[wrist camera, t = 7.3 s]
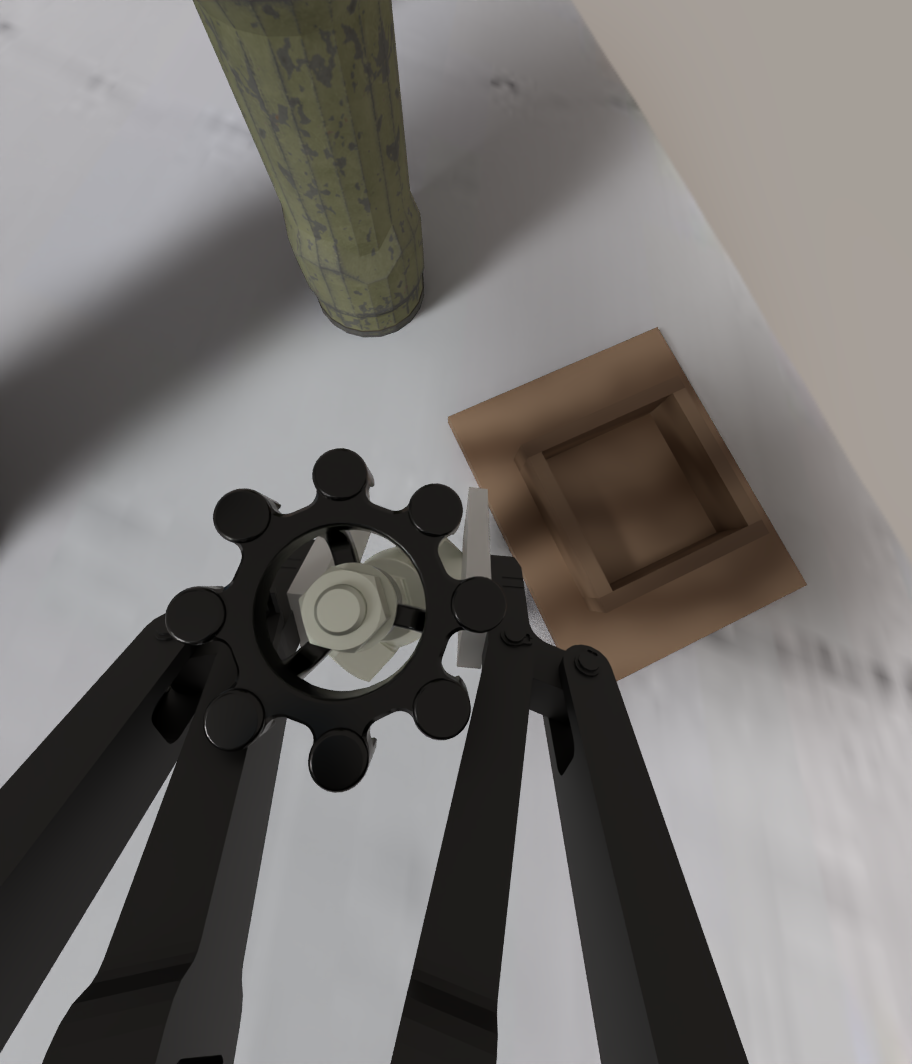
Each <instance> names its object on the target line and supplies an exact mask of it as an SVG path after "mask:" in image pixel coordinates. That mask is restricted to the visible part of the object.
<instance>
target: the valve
mask: <svg viewBox="0 0 912 1064" xmlns="http://www.w3.org/2000/svg"><path fill="white" fill-rule="evenodd" d="M312 478H313V483H314V485H315V488H316V489H317V494H316V497H315V499H314V501H313V502H312V503H311V504H310V505H309V506H307V507H304V508H302V509H300V510H297V511H295V512H293V513H290V514H281V513H280V512H279V510H278V509H279V508H280V507H281V505H280V504H279V503H278V502H276V501H274V500H272V499H270V498H268V497H267V496H265V495H263V494H261V493H259V492H257V491H255V490H251V489H236V490H233V491H231V492H229V493H227V494H225V495H224V496H223V497H222V498H221V499H220V500H219V501H218V503H217V505H216V507H215V509H214V513H213V521H214V526H215V528H216V530H217V532H218V533H219V534H220V535H221V536H222V537H223V538H224V539H226V540H228V541H230V542H233V543H235V544H236V545H237V546H238V547H239V548H240V550H241V553H242V559H241V563H240V565H239V567H238V569H237V571H236V574H235V576H234V578H233V580H232V581H231V583H230V584H229V585H227V586H226V587H223V586H197V587H191V588H187V589H185V590H183V591H181V592H180V593H178V594H177V595H176V596H175V597H174V598H173V599H172V600H171V602H170V603H169V605H168V607H167V610H166V614H165V623H166V627H167V630H168V632H169V634H170V635H171V636H172V638H174V639H175V640H176V641H178V642H180V643H182V644H185V645H190V646H196V645H202V644H206V643H210V642H214V641H220V642H223V643H224V644H226V645H227V646H228V647H229V649H230V651H231V654H232V656H233V659H234V662H235V664H236V667H237V678H236V680H235V682H234V684H233V685H232V686H231V687H230V688H229V689H227V690H225V691H223V692H222V693H220V694H218V695H217V696H216V697H215V698H214V699H213V700H212V701H211V702H210V703H209V705H208V707H207V708H206V711H205V713H204V718H203V729H204V733H205V736H206V738H207V740H208V741H209V742H210V743H211V744H212V745H213V746H214V747H215V748H217V749H219V750H222V751H227V752H235V751H239V750H243V749H245V748H247V747H248V746H250V745H251V744H253V743H254V742H255V741H256V740H257V739H259V738H260V737H261V736H262V735H263V734H265V733H266V732H267V731H268V730H269V729H271V728H272V727H273V726H274V725H275V721H274V719H275V718H278V717H286V718H289V719H291V720H294V721H296V722H299V723H302V724H304V725H306V726H307V727H308V728H309V729H310V730H311V732H312V734H313V739H314V741H313V746H312V748H311V750H310V753H309V759H308V766H309V772H310V774H311V777H312V778H313V780H314V782H315V783H316V784H317V785H318V786H319V787H321V788H322V789H324V790H326V791H329V792H334V793H337V792H344V791H347V790H350V789H351V788H353V787H355V786H356V785H357V784H358V783H359V782H360V781H361V780H362V779H363V777H364V776H365V774H366V772H367V769H368V767H369V764H370V762H371V759H372V757H373V754H374V752H375V748H376V742H377V739H376V738H371V736H370V726H371V725H372V724H373V723H374V722H375V721H377V720H379V719H381V718H383V717H385V716H387V715H389V714H391V713H393V712H396V711H404V712H407V713H409V714H410V715H411V716H412V717H413V719H414V722H415V724H416V726H417V727H418V729H419V730H420V731H421V732H422V733H423V734H424V735H425V736H427V737H429V738H431V739H435V740H447V739H450V738H453V737H455V736H456V735H458V734H459V733H460V732H461V731H462V730H463V729H464V728H465V726H466V725H467V723H468V721H469V717H470V712H471V705H470V700H469V696H468V692H467V688H466V685H465V683H464V681H463V680H462V679H461V678H460V676H456V677H454V676H452V675H450V674H448V673H447V672H446V671H445V670H444V668H443V666H442V657H443V654H444V651H445V649H446V646H447V643H448V641H449V639H450V637H451V636H452V635H453V634H454V633H456V632H458V631H461V630H466V631H469V632H473V633H485V632H489V631H491V630H493V629H494V628H496V627H497V626H498V625H499V624H500V623H501V621H502V620H503V618H504V616H505V613H506V608H507V602H506V597H505V594H504V592H503V590H502V588H501V587H500V586H499V585H498V584H497V583H496V582H495V581H493V580H491V579H489V578H487V577H483V576H474V577H470V578H467V579H464V580H461V570H462V554H463V553H462V552H461V551H460V550H459V549H458V548H457V547H456V546H455V545H454V544H453V543H452V542H451V541H450V540H448V539H447V538H446V537H448V536H450V535H451V534H453V535H454V533H455V532H456V531H457V529H458V527H459V525H460V522H461V518H462V513H463V507H462V502H461V500H460V498H459V496H458V495H457V493H456V492H455V491H454V490H452V489H451V488H450V487H448V486H446V485H443V484H428V485H425V486H423V487H421V488H419V489H418V490H417V491H416V492H415V493H414V494H413V496H412V497H411V499H410V502H409V504H408V506H407V507H405V508H404V509H402V510H399V511H392V510H389V509H386V508H383V507H380V506H378V505H375V504H373V503H372V502H370V500H369V496H368V492H369V488H370V487H373V486H374V478H373V475H372V474H371V472H370V470H369V468H368V467H367V465H366V464H365V462H364V460H363V459H362V458H361V457H360V456H359V455H358V454H357V453H355V452H354V451H351V450H349V449H344V448H337V449H332V450H329V451H327V452H325V453H324V454H323V455H321V456H320V457H319V459H318V460H317V461H316V463H315V465H314V468H313V472H312ZM349 530H361V531H366V532H371V533H374V534H377V535H379V536H382V537H384V538H386V539H388V540H389V541H391V542H392V543H393V544H395V545H396V547H394V548H389V549H386V550H383V551H381V552H379V553H377V554H375V555H373V556H372V557H370V558H369V559H368V560H366V561H365V562H364V563H363V564H362V563H360V559H359V556H358V552H357V549H356V546H355V543H354V540H353V538H352V535H351V533H350V531H349ZM318 536H319V537H322V538H324V539H325V541H326V542H327V544H328V546H329V549H330V551H331V554H332V557H333V561H334V565H335V567H332V566H331V567H330V568H329V569H328V570H326V571H325V572H324V573H323V574H322V575H321V576H320V577H319V578H318V579H317V580H316V581H315V582H314V583H313V584H312V585H311V586H310V587H309V588H308V589H307V590H306V591H305V593H304V594H303V595H302V596H301V597H300V598H299V605H300V610H301V615H302V620H303V623H304V627H305V631H306V634H307V637H308V640H309V641H308V642H306V643H305V644H304V645H303V646H302V647H301V648H300V649H299V650H298V651H296V652H295V653H294V654H293V655H291V656H290V657H288V658H286V659H284V660H281V658H280V657H279V655H278V653H277V652H276V650H275V648H274V647H273V644H272V642H271V639H270V636H269V632H268V627H267V619H266V609H267V603H268V597H269V592H270V589H271V586H272V584H273V581H274V579H275V577H276V574H277V572H278V571H279V569H280V568H281V566H282V565H283V563H284V562H285V561H286V560H287V558H288V557H289V556H290V555H291V554H292V553H293V552H294V551H295V550H297V549H298V548H299V547H300V546H302V545H303V544H305V543H307V542H308V541H310V540H312V539H314V538H316V537H318ZM419 638H420V640H419V642H418V644H417V646H416V648H415V650H414V652H413V654H412V655H411V656H410V658H409V659H408V660H407V662H406V663H405V664H404V665H403V666H402V667H401V668H400V669H399V670H398V671H396V672H395V673H394V674H393V675H391V676H390V677H388V678H387V679H385V680H383V681H381V682H379V683H377V684H375V685H372V686H370V687H367V688H362V689H357V690H353V691H333V690H327V689H323V688H319V687H317V686H314V685H311V684H310V683H308V682H306V681H305V680H303V679H304V678H305V677H306V676H307V675H308V674H309V673H310V672H311V671H312V670H313V669H314V668H315V667H316V666H317V665H318V664H319V663H321V662H322V661H323V660H324V659H325V658H326V657H327V656H328V655H329V656H330V657H331V658H332V659H333V660H334V661H335V662H336V663H337V664H339V665H340V666H341V667H342V668H343V669H345V670H346V671H347V672H349V673H350V674H352V675H353V676H355V677H357V678H359V679H362V680H365V681H368V682H370V681H371V679H372V678H373V677H374V676H375V675H376V674H377V673H378V672H379V671H380V670H381V669H382V667H383V666H384V665H385V664H386V663H387V662H388V661H389V660H390V659H391V658H392V657H393V655H394V654H395V653H396V652H397V650H398V649H399V647H402V646H405V645H408V644H410V643H412V642H414V641H416V640H418V639H419Z"/></svg>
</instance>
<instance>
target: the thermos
mask: <svg viewBox="0 0 912 1064" xmlns="http://www.w3.org/2000/svg"><path fill="white" fill-rule="evenodd" d="M193 2H194V4H195V7H196V9H197V11H198V14H199V16H200V18H201V20H202V23H203V25H204V27H205V30H206V32H207V34H208V37H209V39H210V41H211V43H212V46H213V48H214V50H215V53H216V55H217V57H218V59H219V62H220V64H221V66H222V69H223V71H224V73H225V76H226V78H227V80H228V82H229V85H230V87H231V89H232V92H233V94H234V96H235V99H236V101H237V103H238V105H239V108H240V110H241V112H242V115H243V117H244V119H245V121H246V124H247V126H248V128H249V131H250V133H251V135H252V138H253V140H254V142H255V144H256V147H257V149H258V151H259V154H260V156H261V158H262V160H263V163H264V165H265V167H266V170H267V172H268V174H269V177H270V179H271V181H272V183H273V186H274V188H275V190H276V193H277V195H278V197H279V199H280V202H281V204H282V209H283V214H284V219H285V225H286V230H287V235H288V239H289V241H290V244H291V247H292V249H293V252H294V255H295V257H296V259H297V261H298V263H299V265H300V268H301V270H302V272H303V274H304V276H305V278H306V281H307V283H308V285H309V287H310V289H311V290H312V291H313V292H314V293H315V295H316V296H317V298H318V300H319V303H320V306H321V308H322V310H323V313H324V314H325V315H326V316H327V317H328V318H329V320H330V321H331V322H332V323H333V324H334V325H335V326H337V327H338V328H340V329H342V330H343V331H345V332H347V333H349V334H353V335H357V336H361V337H381V336H384V335H387V334H390V333H393V332H396V331H398V330H399V329H401V328H402V327H403V326H405V325H406V324H408V323H409V322H410V321H411V320H412V319H413V317H414V316H415V314H416V313H417V312H418V310H419V309H420V306H421V303H422V299H423V296H424V282H423V269H424V258H423V243H422V230H421V217H420V212H419V210H418V208H417V205H416V203H415V201H414V198H413V196H412V194H411V192H410V186H409V176H408V166H407V156H406V145H405V135H404V125H403V115H402V105H401V94H400V84H399V74H398V64H397V53H396V43H395V33H394V23H393V13H392V2H391V0H193Z"/></svg>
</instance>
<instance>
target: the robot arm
mask: <svg viewBox="0 0 912 1064" xmlns="http://www.w3.org/2000/svg"><path fill="white" fill-rule="evenodd" d="M368 496H369V492H368ZM369 500H370V498H369ZM349 531H350V533H351V535H352V538H353V540H354V543H355V546H356V549H357V552H358V556H359V559H360V561H361V558H362V556H363V553H364V550H365V547H366V545H367V542H368V539H369V536H370V533H371V532H366V531H361V530H349ZM462 553H463V554H462V570H461V580H464V579H467V578H470V577H474V576H483V577H487V578H489V579H491V580H493V581H495V582H496V583H497V584H498V585H499V586H500V587H501V588H502V590H503V592H504V594H505V597H506V602H507V608H506V613H505V616H504V618H503V620H502V621H501V623H500V624H499V625H498V626H497V627H496V628H494V629H493V630H491V631H489V632H485V633H473V632H469V631H466V630H461V631H459V632H458V653H457V667H467V668H478V669H481V664H482V673H481V677H480V681H479V686H478V690H477V694H476V699H475V703H474V707H473V712H472V716H471V720H470V725H469V729H468V733H467V737H466V742H465V746H464V750H463V755H462V759H461V763H460V768H459V772H458V776H457V781H456V785H455V789H454V794H453V798H452V802H451V807H450V811H449V815H448V820H447V824H446V828H445V832H444V837H443V841H442V845H441V850H440V854H439V858H438V863H437V867H436V871H435V876H434V880H433V884H432V889H431V893H430V897H429V902H428V906H427V910H426V914H425V919H424V923H423V927H422V932H421V936H420V940H419V945H418V949H417V953H416V958H415V962H414V966H413V970H412V975H411V979H410V983H409V987H408V991H407V996H406V1000H405V1004H404V1008H403V1012H402V1017H401V1021H400V1025H399V1030H398V1034H397V1038H396V1042H395V1047H394V1051H393V1055H392V1060H391V1064H496V1060H497V1040H498V1029H497V1002H498V991H499V981H500V972H501V963H502V954H503V944H504V935H505V926H506V917H507V908H508V899H509V889H510V880H511V871H512V862H513V853H514V844H515V835H516V825H517V816H518V807H519V798H520V789H521V780H522V770H523V761H524V752H525V743H526V734H527V725H528V715H529V709H530V710H532V711H534V712H537V713H539V714H541V715H543V719H544V725H545V731H546V737H547V743H548V749H549V755H550V761H551V767H552V773H553V779H554V785H555V791H556V797H557V802H558V808H559V814H560V820H561V826H562V832H563V838H564V844H565V850H566V856H567V862H568V868H569V874H570V880H571V886H572V892H573V898H574V904H575V910H576V916H577V922H578V928H579V934H580V940H581V946H582V952H583V958H584V963H585V969H586V975H587V981H588V987H589V993H590V999H591V1005H592V1011H593V1017H594V1023H595V1029H596V1035H597V1041H598V1047H599V1053H600V1059H601V1064H749V1063H748V1060H747V1057H746V1054H745V1051H744V1048H743V1045H742V1043H741V1040H740V1037H739V1034H738V1031H737V1028H736V1025H735V1022H734V1020H733V1017H732V1014H731V1011H730V1008H729V1005H728V1002H727V999H726V996H725V994H724V991H723V988H722V985H721V982H720V979H719V976H718V973H717V970H716V968H715V965H714V962H713V959H712V956H711V953H710V950H709V947H708V944H707V942H706V939H705V936H704V933H703V930H702V927H701V924H700V921H699V918H698V916H697V913H696V910H695V907H694V904H693V901H692V898H691V895H690V893H689V890H688V887H687V884H686V881H685V878H684V875H683V872H682V869H681V867H680V864H679V861H678V858H677V855H676V852H675V849H674V846H673V843H672V841H671V838H670V835H669V832H668V829H667V826H666V823H665V820H664V817H663V815H662V812H661V809H660V806H659V803H658V800H657V797H656V794H655V791H654V789H653V786H652V783H651V780H650V777H649V774H648V771H647V768H646V766H645V763H644V760H643V757H642V754H641V751H640V748H639V745H638V742H637V740H636V737H635V734H634V731H633V728H632V725H631V722H630V719H629V716H628V714H627V711H626V708H625V705H624V702H623V699H622V696H621V693H620V690H619V688H618V685H617V682H616V679H615V676H614V673H613V670H612V667H611V665H610V663H609V662H608V660H607V658H606V657H605V656H604V655H603V654H602V653H601V652H600V651H598V650H596V649H594V648H593V647H591V646H587V645H582V644H580V645H573V646H571V647H569V648H568V649H567V650H563V649H560V648H558V647H555V646H552V645H550V644H548V643H546V642H544V641H542V640H541V639H540V638H538V637H537V636H536V634H535V633H534V632H533V631H532V629H531V627H530V624H529V619H528V611H527V604H526V596H525V590H524V582H523V574H522V567H521V566H520V564H519V563H518V561H517V560H516V559H515V557H507V556H496V555H490V536H489V511H488V489H481V488H471V487H469V494H468V502H467V510H466V518H465V527H464V535H463V549H462ZM331 566H332V567H335V565H334V561H333V557H332V554H331V551H330V549H329V546H328V544H327V542H326V541H325V539H324V538H322V537H319V536H318V537H317V538H316V540H313V539H312V540H310V541H308V542H307V543H305V544H303V545H302V546H300V547H299V548H298V549H297V550H295V551H294V552H293V553H292V554H291V555H290V556H289V557H288V558H287V560H286V561H285V562H284V563H283V565H282V566H281V568H280V569H279V571H278V572H277V574H276V577H275V579H274V581H273V584H272V586H271V589H270V592H269V597H268V603H267V609H266V619H267V627H268V632H269V636H270V639H271V642H272V644H273V647H274V648H275V650H276V652H277V653H278V655H279V657H280V658H281V660H284V659H286V658H288V657H290V656H291V655H293V654H294V653H295V652H296V650H297V648H298V645H299V643H300V646H301V647H302V646H303V645H304V644H305V643H306V642H308V641H309V640H308V637H307V634H306V631H305V627H304V623H303V620H302V615H301V610H300V605H299V598H300V597H301V596H302V595H303V594H304V593H305V591H306V590H307V589H308V588H309V587H310V586H311V585H312V584H313V583H314V582H315V581H316V580H317V579H318V578H319V577H320V576H321V575H322V574H323V573H324V572H325V571H326V570H328V569H329V568H330V567H331ZM165 614H166V613H165ZM165 614H163V615H161V616H159V617H158V618H156V619H154V620H153V621H152V622H151V623H149V624H148V625H147V626H146V627H145V628H144V629H143V630H142V631H141V633H140V634H139V635H138V636H137V637H136V638H135V639H134V640H133V642H132V643H131V644H130V645H129V646H128V647H127V648H126V649H125V650H124V652H123V653H122V654H121V655H120V656H119V657H118V658H117V659H116V660H115V662H114V663H113V664H112V665H111V666H110V667H109V668H108V669H107V671H106V672H105V673H104V674H103V675H102V676H101V677H100V678H99V679H98V681H97V682H96V683H95V684H94V685H93V686H92V687H91V688H90V689H89V691H88V692H87V693H86V694H85V695H84V696H83V697H82V698H81V700H80V701H79V702H78V703H77V704H76V705H75V706H74V707H73V708H72V710H71V711H70V712H69V713H68V714H67V715H66V716H65V717H64V718H63V720H62V721H61V722H60V723H59V724H58V725H57V726H56V727H55V728H54V730H53V731H52V732H51V733H50V734H49V735H48V736H47V737H46V739H45V740H44V741H43V742H42V743H41V744H40V745H39V746H38V747H37V749H36V750H35V751H34V752H33V753H32V754H31V755H30V756H29V757H28V759H27V760H26V761H25V762H24V763H23V764H22V765H21V766H20V768H19V769H18V770H17V771H16V772H15V773H14V774H13V775H12V776H11V778H10V779H9V780H8V781H7V782H6V783H5V784H4V785H3V786H2V788H1V789H0V1052H1V1051H2V1049H3V1047H4V1046H5V1044H6V1043H7V1041H8V1039H9V1038H10V1036H11V1034H12V1033H13V1031H14V1029H15V1028H16V1026H17V1024H18V1023H19V1021H20V1019H21V1018H22V1016H23V1014H24V1013H25V1011H26V1009H27V1008H28V1006H29V1005H30V1003H31V1001H32V1000H33V998H34V996H35V995H36V993H37V991H38V990H39V988H40V986H41V985H42V983H43V981H44V980H45V978H46V976H47V975H48V973H49V971H50V970H51V968H52V967H53V965H54V963H55V962H56V960H57V958H58V957H59V955H60V953H61V952H62V950H63V948H64V947H65V945H66V943H67V942H68V940H69V938H70V937H71V935H72V933H73V932H74V930H75V929H76V927H77V925H78V924H79V922H80V920H81V919H82V917H83V915H84V914H85V912H86V910H87V909H88V907H89V905H90V904H91V902H92V900H93V899H94V897H95V895H96V894H97V892H98V891H99V889H100V887H101V886H102V884H103V882H104V881H105V879H106V877H107V876H108V874H109V872H110V871H111V869H112V867H113V866H114V864H115V862H116V861H117V859H118V857H119V856H120V854H121V853H122V851H123V849H124V848H125V846H126V844H127V843H128V841H129V839H130V838H131V836H132V834H133V833H134V831H135V829H136V828H137V826H138V824H139V823H140V821H141V819H142V818H143V816H144V815H145V813H146V811H147V810H148V808H149V806H150V805H151V803H152V801H153V800H154V798H155V796H156V795H157V793H158V791H159V790H160V788H161V786H162V785H163V783H164V781H165V780H166V778H167V777H168V775H169V773H170V772H171V770H172V768H173V767H174V765H175V763H176V762H177V763H176V765H175V768H174V771H173V774H172V776H171V779H170V782H169V784H168V787H167V790H166V792H165V795H164V798H163V801H162V803H161V806H160V809H159V811H158V814H157V817H156V820H155V822H154V825H153V828H152V830H151V833H150V836H149V838H148V841H147V844H146V847H145V849H144V852H143V855H142V857H141V860H140V863H139V866H138V868H137V871H136V874H135V876H134V879H133V882H132V884H131V887H130V890H129V893H128V895H127V898H126V901H125V903H124V906H123V909H122V911H121V914H120V917H119V920H118V922H117V925H116V928H115V930H114V933H113V936H112V939H111V941H110V944H109V947H108V949H107V952H106V955H105V957H104V960H103V962H102V965H101V967H100V969H99V971H98V973H97V975H96V977H95V978H94V980H93V981H92V983H91V984H90V986H89V987H88V988H87V989H86V990H85V991H84V992H83V993H82V994H81V995H80V996H79V997H78V999H77V1000H76V1001H75V1002H74V1003H73V1004H72V1005H71V1007H70V1009H69V1010H68V1012H67V1013H66V1015H65V1017H64V1018H63V1020H62V1021H61V1023H60V1025H59V1027H58V1029H57V1031H56V1033H55V1035H54V1037H53V1040H52V1042H51V1044H50V1046H49V1048H48V1050H47V1053H46V1055H45V1058H44V1060H43V1063H42V1064H233V1063H234V1057H235V1051H236V1045H237V1040H238V1034H239V1028H240V1020H241V1013H242V1000H243V991H242V968H243V961H244V955H245V950H246V944H247V938H248V933H249V927H250V922H251V916H252V910H253V905H254V899H255V893H256V888H257V882H258V877H259V871H260V865H261V860H262V854H263V849H264V843H265V837H266V832H267V826H268V820H269V815H270V809H271V804H272V798H273V792H274V787H275V781H276V776H277V770H278V764H279V759H280V753H281V747H282V742H283V736H284V731H285V725H286V719H287V718H286V717H278V718H275V719H274V721H275V725H274V726H273V727H272V728H271V729H269V730H268V731H267V732H266V733H265V734H263V735H262V736H261V737H260V738H259V739H257V740H256V741H255V742H254V743H253V744H251V745H250V746H248V747H247V748H245V749H243V750H239V751H235V752H227V751H222V750H219V749H217V748H215V747H214V746H213V745H212V744H211V743H210V742H209V741H208V740H207V738H206V736H205V733H204V729H203V718H204V713H205V711H206V708H207V707H208V705H209V703H210V702H211V701H212V700H213V699H214V698H215V697H216V696H217V695H218V694H220V693H222V692H223V691H225V690H227V689H229V688H230V687H231V686H232V685H233V684H234V682H235V680H236V678H237V667H236V664H235V662H234V659H233V656H232V654H231V651H230V649H229V647H228V646H227V645H226V644H224V643H223V642H220V641H214V642H210V643H206V644H202V645H196V646H190V645H185V644H182V643H180V642H178V641H176V640H175V639H174V638H172V636H171V635H170V634H169V632H168V630H167V627H166V623H165Z"/></svg>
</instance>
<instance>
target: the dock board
mask: <svg viewBox="0 0 912 1064" xmlns="http://www.w3.org/2000/svg"><path fill="white" fill-rule="evenodd" d="M448 423H449V425H450V427H451V429H452V432H453V434H454V436H455V438H456V440H457V442H458V444H459V446H460V448H461V450H462V452H463V454H464V456H465V458H466V461H467V463H468V465H469V467H470V469H471V471H472V473H473V475H474V477H475V479H476V481H477V483H478V485H479V487H480V488H481V489H488V506H489V508H490V510H491V512H492V514H493V516H494V518H495V521H496V523H497V525H498V527H499V529H500V531H501V533H502V535H503V537H504V539H505V541H506V543H507V545H508V547H509V550H510V552H511V554H512V556H513V557H515V559H516V560H517V561H518V563H519V564H520V566H521V567H522V574H523V579H524V581H525V583H526V585H527V587H528V589H529V591H530V593H531V595H532V597H533V599H534V601H535V603H536V605H537V608H538V610H539V612H540V614H541V616H542V618H543V620H544V622H545V624H546V626H547V628H548V630H549V632H550V634H551V637H552V639H553V641H554V643H555V645H556V647H558V648H560V649H563V650H567V649H568V648H569V647H571V646H573V645H580V644H582V645H587V646H591V647H593V648H594V649H596V650H598V651H600V652H601V653H602V654H603V655H604V656H605V657H606V658H607V660H608V662H609V663H610V665H611V667H612V670H613V673H614V676H615V679H616V681H618V680H620V679H622V678H624V677H626V676H628V675H630V674H632V673H634V672H636V671H638V670H640V669H642V668H644V667H646V666H648V665H650V664H652V663H654V662H656V661H658V660H660V659H662V658H664V657H666V656H668V655H670V654H672V653H674V652H676V651H677V650H679V649H681V648H683V647H685V646H687V645H689V644H691V643H693V642H695V641H697V640H699V639H701V638H703V637H705V636H707V635H709V634H711V633H713V632H715V631H717V630H719V629H721V628H723V627H725V626H727V625H729V624H731V623H733V622H735V621H737V620H739V619H741V618H743V617H745V616H747V615H749V614H751V613H753V612H755V611H757V610H758V609H760V608H762V607H764V606H766V605H768V604H770V603H772V602H774V601H776V600H778V599H780V598H782V597H784V596H786V595H788V594H790V593H792V592H794V591H796V590H798V589H800V588H802V587H804V586H806V585H807V584H806V582H805V580H804V579H803V577H802V575H801V573H800V572H799V570H798V568H797V567H796V565H795V563H794V561H793V560H792V558H791V556H790V555H789V553H788V551H787V549H786V548H785V546H784V544H783V542H782V541H781V539H780V537H779V536H778V534H777V532H776V530H775V529H774V527H773V525H772V524H771V522H770V520H769V518H768V517H767V515H766V513H765V511H764V510H763V508H762V506H761V505H760V503H759V501H758V499H757V498H756V496H755V494H754V493H753V491H752V489H751V487H750V486H749V484H748V482H747V480H746V479H745V477H744V475H743V474H742V472H741V470H740V468H739V467H738V465H737V463H736V462H735V460H734V458H733V456H732V455H731V453H730V451H729V449H728V448H727V446H726V444H725V443H724V441H723V439H722V437H721V436H720V434H719V432H718V431H717V429H716V427H715V425H714V424H713V422H712V420H711V418H710V417H709V415H708V413H707V412H706V410H705V408H704V406H703V405H702V403H701V401H700V400H699V398H698V396H697V394H696V393H695V391H694V389H693V387H692V386H691V384H690V382H689V381H688V379H687V377H686V375H685V374H684V372H683V370H682V369H681V367H680V365H679V363H678V362H677V360H676V358H675V356H674V355H673V353H672V351H671V350H670V348H669V346H668V344H667V343H666V341H665V339H664V338H663V336H662V334H661V332H660V331H659V329H658V327H657V328H654V329H652V330H650V331H647V332H645V333H643V334H640V335H638V336H636V337H633V338H631V339H629V340H626V341H624V342H622V343H619V344H617V345H615V346H612V347H610V348H608V349H605V350H603V351H601V352H598V353H596V354H594V355H591V356H589V357H587V358H584V359H582V360H580V361H577V362H575V363H573V364H570V365H568V366H566V367H563V368H561V369H559V370H556V371H554V372H552V373H549V374H547V375H545V376H542V377H540V378H538V379H535V380H533V381H531V382H528V383H526V384H524V385H521V386H519V387H517V388H514V389H512V390H510V391H507V392H505V393H503V394H500V395H498V396H496V397H493V398H491V399H489V400H486V401H484V402H482V403H479V404H477V405H475V406H472V407H470V408H468V409H465V410H463V411H461V412H458V413H456V414H454V415H452V416H449V417H448Z"/></svg>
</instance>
